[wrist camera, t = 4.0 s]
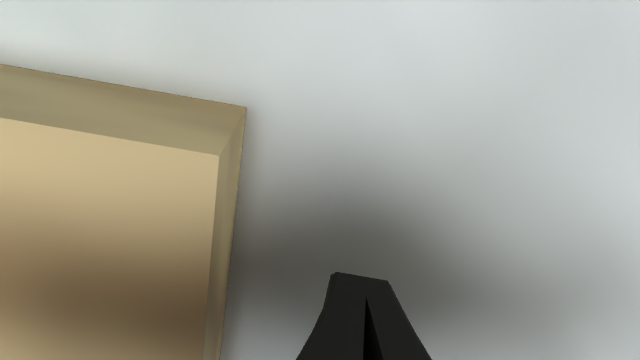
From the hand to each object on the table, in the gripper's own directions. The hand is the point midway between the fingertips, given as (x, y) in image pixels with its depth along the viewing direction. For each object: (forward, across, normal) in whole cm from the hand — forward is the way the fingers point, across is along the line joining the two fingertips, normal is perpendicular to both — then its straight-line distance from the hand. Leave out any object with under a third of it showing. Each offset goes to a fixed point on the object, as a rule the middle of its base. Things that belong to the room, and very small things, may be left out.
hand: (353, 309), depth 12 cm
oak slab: (+2, +7, 0) cm, 7 cm away
